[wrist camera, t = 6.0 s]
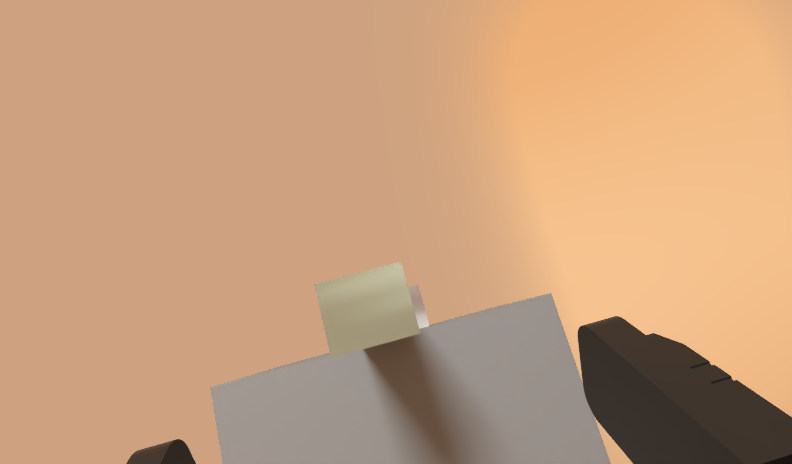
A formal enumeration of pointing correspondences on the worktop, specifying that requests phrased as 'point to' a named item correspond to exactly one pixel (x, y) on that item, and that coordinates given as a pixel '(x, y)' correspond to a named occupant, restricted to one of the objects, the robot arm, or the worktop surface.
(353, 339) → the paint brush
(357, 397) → the step shelf
